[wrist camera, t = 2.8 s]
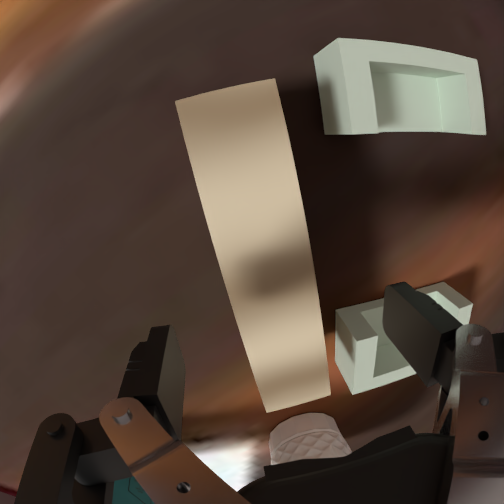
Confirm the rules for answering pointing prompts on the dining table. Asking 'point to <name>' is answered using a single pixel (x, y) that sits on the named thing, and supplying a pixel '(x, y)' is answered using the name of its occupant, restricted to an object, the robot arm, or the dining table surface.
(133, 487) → the beverage bottle
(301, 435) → the white cup
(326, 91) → the end cap
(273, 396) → the wooden block
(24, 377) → the dining table surface
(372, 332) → the end cap
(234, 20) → the dining table surface
